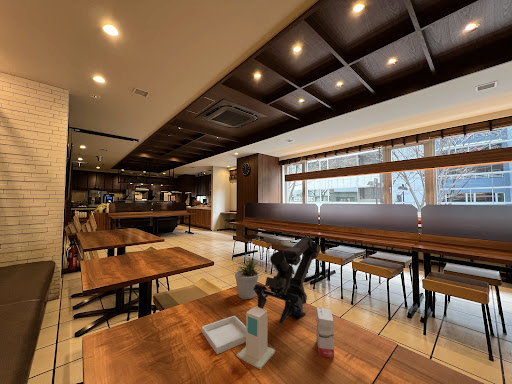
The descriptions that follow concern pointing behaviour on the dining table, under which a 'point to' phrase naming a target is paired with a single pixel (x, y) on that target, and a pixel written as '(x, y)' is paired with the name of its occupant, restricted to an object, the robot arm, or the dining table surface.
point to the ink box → (325, 332)
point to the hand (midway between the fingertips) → (268, 319)
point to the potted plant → (246, 280)
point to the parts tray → (225, 334)
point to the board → (255, 362)
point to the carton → (256, 332)
